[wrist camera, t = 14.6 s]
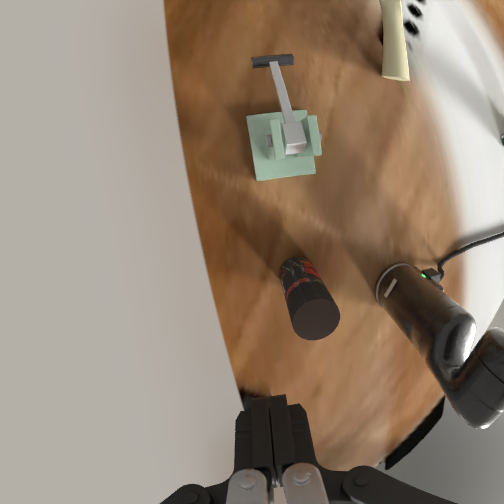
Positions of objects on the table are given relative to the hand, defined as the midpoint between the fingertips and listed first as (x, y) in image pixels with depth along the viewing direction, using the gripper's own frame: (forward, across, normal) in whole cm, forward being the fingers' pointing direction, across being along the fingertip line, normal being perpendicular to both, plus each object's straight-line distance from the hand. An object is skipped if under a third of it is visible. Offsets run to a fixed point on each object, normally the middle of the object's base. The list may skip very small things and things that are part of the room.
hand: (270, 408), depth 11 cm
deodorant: (+35, -6, +9) cm, 37 cm away
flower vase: (+35, -29, -39) cm, 60 cm away
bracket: (+35, -6, -12) cm, 37 cm away
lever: (+27, -6, -17) cm, 32 cm away
